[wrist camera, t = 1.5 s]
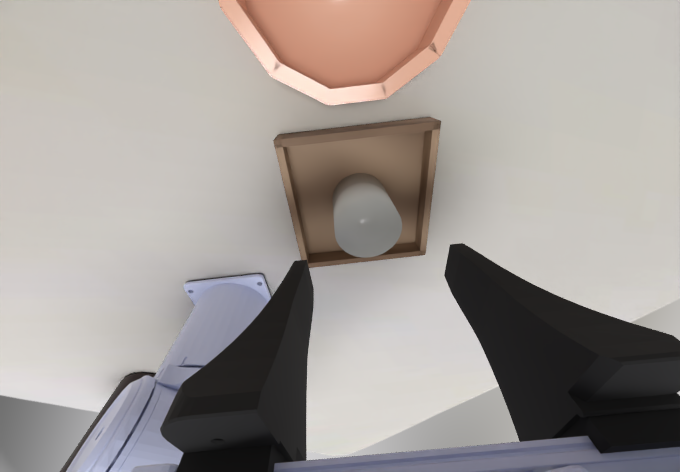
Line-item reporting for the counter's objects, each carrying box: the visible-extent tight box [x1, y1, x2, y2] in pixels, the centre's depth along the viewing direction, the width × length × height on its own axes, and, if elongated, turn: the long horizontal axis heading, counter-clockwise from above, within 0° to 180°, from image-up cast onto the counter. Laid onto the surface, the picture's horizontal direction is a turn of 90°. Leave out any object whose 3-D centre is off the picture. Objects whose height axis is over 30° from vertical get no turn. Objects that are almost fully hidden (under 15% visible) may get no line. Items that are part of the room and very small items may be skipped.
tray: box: [273, 117, 441, 268], centre depth 20 cm, size 11×11×2 cm
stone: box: [332, 173, 402, 258], centre depth 18 cm, size 4×4×5 cm
